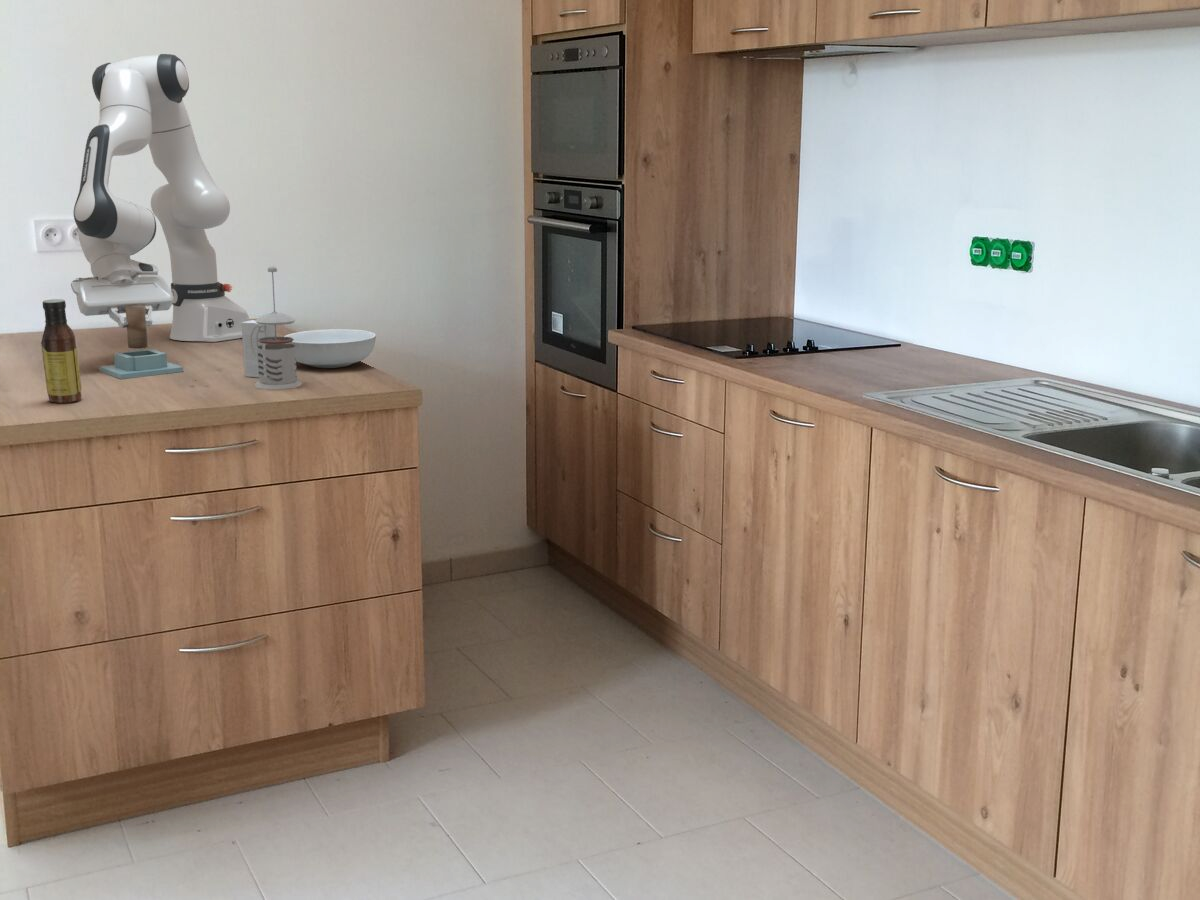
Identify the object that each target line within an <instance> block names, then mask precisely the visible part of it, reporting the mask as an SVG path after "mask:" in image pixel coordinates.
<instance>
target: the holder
mask: <svg viewBox="0 0 1200 900" xmlns="http://www.w3.org/2000/svg"><path fill="white" fill-rule="evenodd" d="M113 358H114V359H113V361H114V364H111V365H101V366H98V370H99V372H101V373H104V374H107V375H109V376H112V377H115V378H117V379H118V380H119V379H120V380H123V379H132V378H141V377H149V376H157V375H158V376H159V375H166V374H167V373H168V374H175V373H183V372H184V366H181V365H178V364H175V363H171V362H168V359H167V358H168V357H167V353H165V352H163V351H159V350H156V349H146V348H143V349H134V350H126V351H118V352H114V353H113ZM168 374H167V375H168Z"/></svg>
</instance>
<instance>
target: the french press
mask: <svg viewBox="0 0 1200 900" xmlns="http://www.w3.org/2000/svg"><path fill="white" fill-rule="evenodd" d="M267 272H268V273H271V277H272V294H273V295H272V296H273V298H272V299H273V311H272V312H271V313H265V314H263V315H261V316H260V317H258V318H256V319H254V320H255V321H256V323H258V324H263V325H262V326H261V327H263V326H265V330H264V331H266V325H275V336H274V337H264V338H260V339H259V340H258V333H259V331H260V332H264V331H261V330H260V328H261V327H260V326H256V327H259V329H258V332H257V336H256V337H257V346H258V341H259V342H260V343H264V344H266V345H265V349H262V345H260V346H258V347H257V353H258V357H257V355H256V354H255V353H254V350H253V347H252V339H251V338H252V334H253V331H254V330H255V328H256V327H255V328H254V329H253V330H252V333H251V338H250V339H251V347H252V351H253V353H254V355H255V356H256V357H257V358H258V371H259V377H258V381H257V382H256V383H255V384H254V385H255V386H256V387H255V386H254V387H255V388H257V387H259V389H262V388H263V389H264V390H285V389H293V388H297V387H300V386H302V385H303V383H302V382H300V381H299V380H298V377H297V375H298V374H297V373H298V372H297V364H296V363H297V361H296V359H295V357H296V349H295V345H292V344H285V343H290V342H292V341H293V340H294V339H293V338H291V337H289V338H288V337H284V336H280V335H279V336H277V326H284V325H291V324H294V323H295V321H296V319H294V318H293V317H292V316H290V315H288V314H286V313H283V312H282V313H281V312H277V311H276V304H275V303H276V302H275V300H276V299H275V283H274V282H275V281H274V273H277V272H278V268H277V267H276V266H274V265H270V266H269V267H268V268H267ZM285 348H287V349H285ZM263 355H264V356H263ZM263 357H264V358H265V359H266V360H265V359H264V358H263ZM263 362H265V363H266V365H264V364H263ZM263 367H264V368H265V369H266V371H264V369H263ZM264 374H266V375H267V377H265V376H264Z"/></svg>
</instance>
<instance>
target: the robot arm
mask: <svg viewBox="0 0 1200 900" xmlns="http://www.w3.org/2000/svg"><path fill="white" fill-rule="evenodd" d="M91 84H92V85H91V87H92V90H93V93H94V96H95V97H96V99H97V101H98V102H99V120H98V124H97V125H96V126H94V127H93V128H92V129H91V130H90V132H89V134H88V136H87V139H86V144H85V147H84V149H85V150H84V156H83V161H82V162H83V163H82V170H81V177H80V185H79V191H78V194H77V197H76V200H75V204H74V207H73V219H74V223H75V225H76V226H77V233H78V234H77V235H78V242H79V243H80V244H79V245H80V246H81V250H82V252H83V255H84V257H85V259H86V261H87V262H88V263H89V265H90V272H91V274H92V276H91V277H77V278H75V279H73V280H72V281H71V283H70V286H71V289H72V292H73V294H75V296H76V301H77V306H78V309H79V312H80V313H81V314H82V315H84V316H85V317H90V316H91V317H92V316H103V315H104V316H105V315H108V316H109V318H110V319H111V320H113V321H114V322H116V324H117V325H118V327H119V328H120V329H127V326H128V321H127V318H126V316H125V317H124V316H121V314H126V307H125V306H131V305H142V306H145V314H146V327H151V326H152V324H153V318H152V316H151V315H152V312H161V311H169V310H170V309H171V307H172V309H173V310H172V322H171V329H170V332H169V333H170V334H169V337H168V338H169V339H170V340H174V341H184V342H208V343H209V342H210V343H213V342H215V343H216V342H222V341H230V340H236V339H243V338H242V324H241V323H242V322H246V321H250V317H249V315H248V313H247V311H246V310H245V308H243V307H241V306H240V305H238V303H235V301H233V300H232V299H230V298H229V297H227V296H225V295H226V294H225V293H231V291H232V290H233V286H232V285H231V284H230V283H222V282H220V281H218V269H217V268H218V267H217V255H216V250H215V249H214V247H213V246H212V244H211V243H210V242H209V240H208V237H207V235H206V234H207V233H206V232H205V231H206V230H209V229H213V228H216V227H220V226H221V225H223V224H224V223H225V222H226V221H227V220H228V217H229V215H230V212H231V211H230V210H231V206H230V201H229V198H228V197H227V195H226V194H225V193H224V192H223V191H222V190H221V189H220V188H219V187H218V185H217V184H216V182H215V181H214V180H213V177H212V176H211V173H210V172H209V171H208V169H207V167H206V165H205V163H204V161H203V158H202V156H201V154H200V151H199V147H198V144H197V141H196V137H195V134H194V130H193V127H192V124H191V123H192V122H191V119H190V117H189V114H188V109H187V108H186V104H185V102H184V101H183V98H185V96H186V95H187V93H188V91H189V90H190V88H189V87H190V80H189V74H188V70H187V68H186V65H185V63H184V62H183V60H182V59H181V58H179V57H178V56H177V55H175V54H170V53H161V54H158V55H140V56H134V57H132V58H126V59H122V60H121V59H120V60H117V61H114V62H106V63H104V64H101V65H99V66H98V67H96V68H95V70H94V71H93V73H92V77H91ZM147 145H148V147H149V150H150V154H151V158H152V160H153V161H152V162H153V163H154V165H155V167H156V168H157V169H158V170H159V172H161V173H162V175H163V176H164V178H165V179H166V181H167V184H164V185H161V186H159V187H158V188H156V189H155V191H154V192H153V193H152V196H151V198H150V208H151V210H150V209H149V208H146V207H145V206H142V205H139V204H137V203H133V202H130V201H127V200H124V199H122V198H119V197H118V196H117V197H116V196H115V195H114V194H113V193H112V192H111V190H110V189H109V182H110V181H109V180H110V176H111V175H110V174H111V168H112V167H111V166H112V160H113V157H114V156H115V157H117V156H118V157H120V156H121V157H122V156H128V155H132V154H135V153H138V152H140V151H143V149H144V148H146V147H147ZM155 217H156V218H157V220H158V222H159V223H160V226H161V228H162V229H161V230H162V232H163V234H164V237H165V240H166V245H167V247H168V251H169V257H170V260H169V261H170V270H171V281H172V282H171V283H170V286H169V285H168V284H167V283H168V282H166V280H165V278H164V277H162V276H161V275H158V274H159V268H158V267H157V265H154V264H150V263H145V262H141V261H138V260H134V259H132V258H131V256H133V255H135V254H137V253H140V251H142V250H143V249H145V247H147V246H148V245H150V244H151V242H153V240H154V238H155V236H156V233H157V221H156V218H155Z"/></svg>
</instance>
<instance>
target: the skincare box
mask: <svg viewBox="0 0 1200 900" xmlns="http://www.w3.org/2000/svg"><path fill="white" fill-rule="evenodd" d="M249 320H250V319H249ZM255 320H256V319H251V320H250V321H246V322H242V323H241V324H242V338H241V339H242V350H243V367H244V376H245V377H249V378H259V371H258V358H257V357H258V353H257V347H258V346H260V345H262V349H265V345H266V344H264V343H260V342H259V341H258V346H257V337H256V336H257V332H258V329H259V327H256V326H260V327H261V326H262V325H263V324H258V323H256V321H255ZM255 327H256V328H255ZM254 328H255V330H254V331H253V334H252V338H251V333H252V330H253V329H254ZM260 330H261V331H264V330H265V326H263V327H261V328H260ZM274 336H275V325H266V331H264V332H260V331H259V333H258V340H259V339H260V338H264V337H274ZM250 338H251V339H252V347H253V350H254V353H255V354H256V355H257V357H256V356H255V355H254V353H253V351H252V347H251V339H250ZM263 356H264V355H263ZM263 358H264V357H263ZM264 359H265V358H264ZM265 360H266V359H265ZM263 364H264V365H266V363H265V362H263ZM263 369H264V371H266V369H265V368H264V367H263ZM264 376H265V377H267V375H266V374H264Z"/></svg>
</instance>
